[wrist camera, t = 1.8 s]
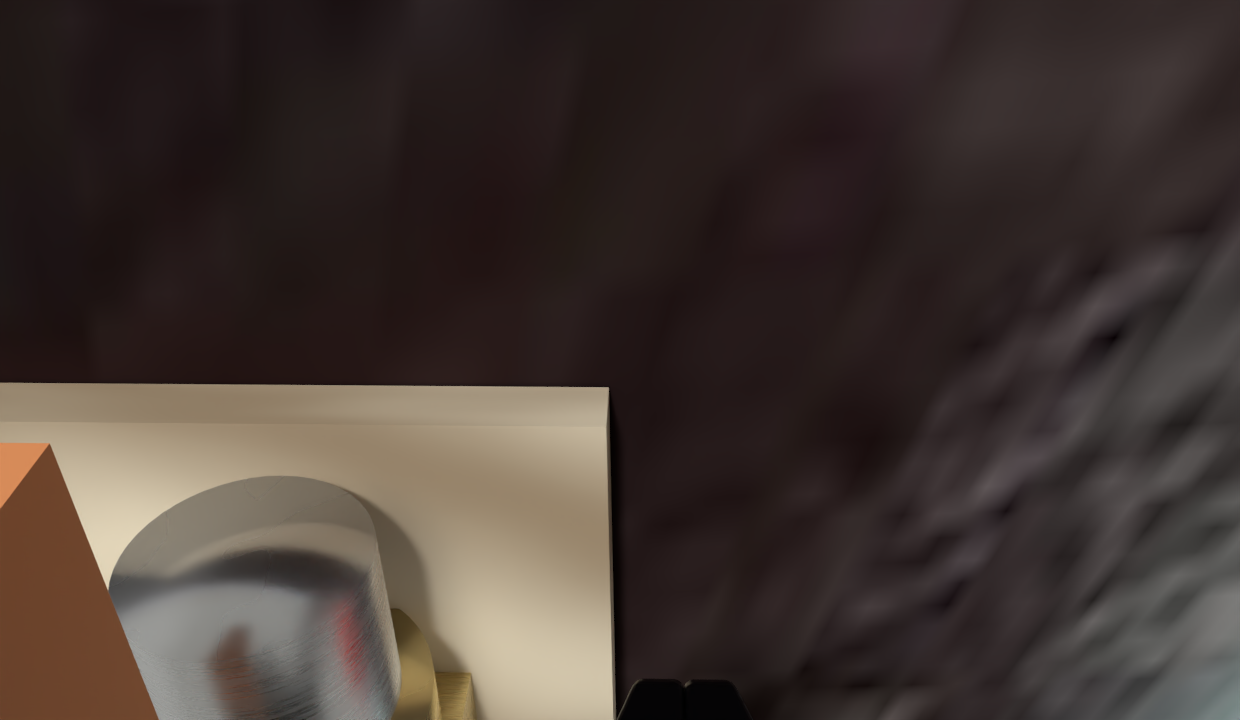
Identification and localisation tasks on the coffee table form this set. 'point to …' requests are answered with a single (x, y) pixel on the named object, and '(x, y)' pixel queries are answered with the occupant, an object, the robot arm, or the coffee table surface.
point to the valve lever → (56, 605)
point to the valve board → (387, 505)
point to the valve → (274, 612)
